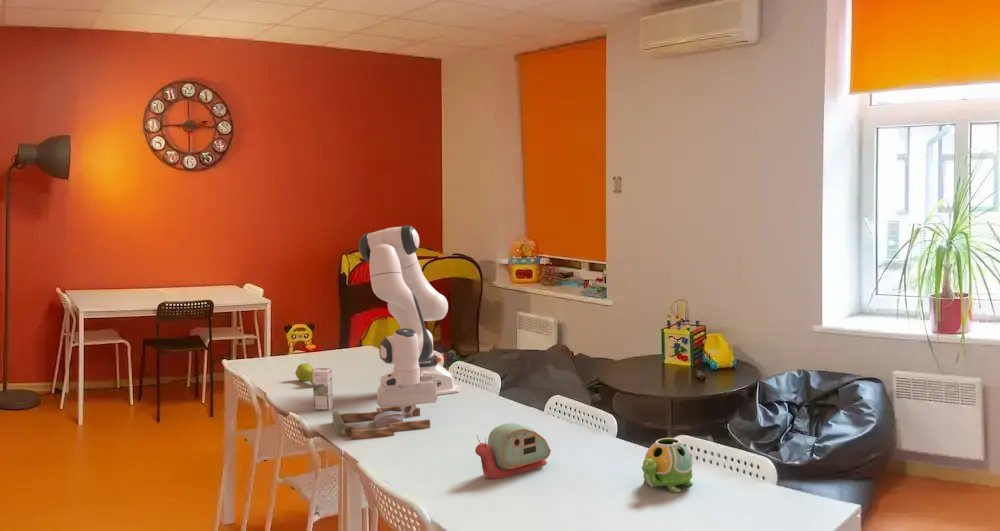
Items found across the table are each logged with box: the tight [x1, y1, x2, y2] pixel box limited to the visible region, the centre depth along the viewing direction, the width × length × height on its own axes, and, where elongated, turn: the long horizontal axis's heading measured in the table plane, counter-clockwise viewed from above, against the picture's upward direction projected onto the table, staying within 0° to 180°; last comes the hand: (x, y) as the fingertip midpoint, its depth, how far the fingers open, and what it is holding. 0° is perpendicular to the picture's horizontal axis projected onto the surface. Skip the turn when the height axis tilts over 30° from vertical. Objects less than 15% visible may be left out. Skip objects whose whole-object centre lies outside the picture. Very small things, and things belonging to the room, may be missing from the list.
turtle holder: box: [641, 437, 694, 494], centre depth 237 cm, size 12×18×12 cm
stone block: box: [373, 411, 404, 428], centre depth 303 cm, size 12×5×10 cm
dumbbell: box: [294, 362, 315, 386], centre depth 365 cm, size 16×8×7 cm, turn 37°
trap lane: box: [331, 405, 431, 440], centre depth 301 cm, size 30×27×4 cm
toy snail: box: [474, 422, 552, 480], centre depth 252 cm, size 25×8×14 cm, turn 129°
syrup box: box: [312, 367, 334, 411], centre depth 324 cm, size 6×6×14 cm
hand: (407, 417), depth 304 cm, fingers closed
